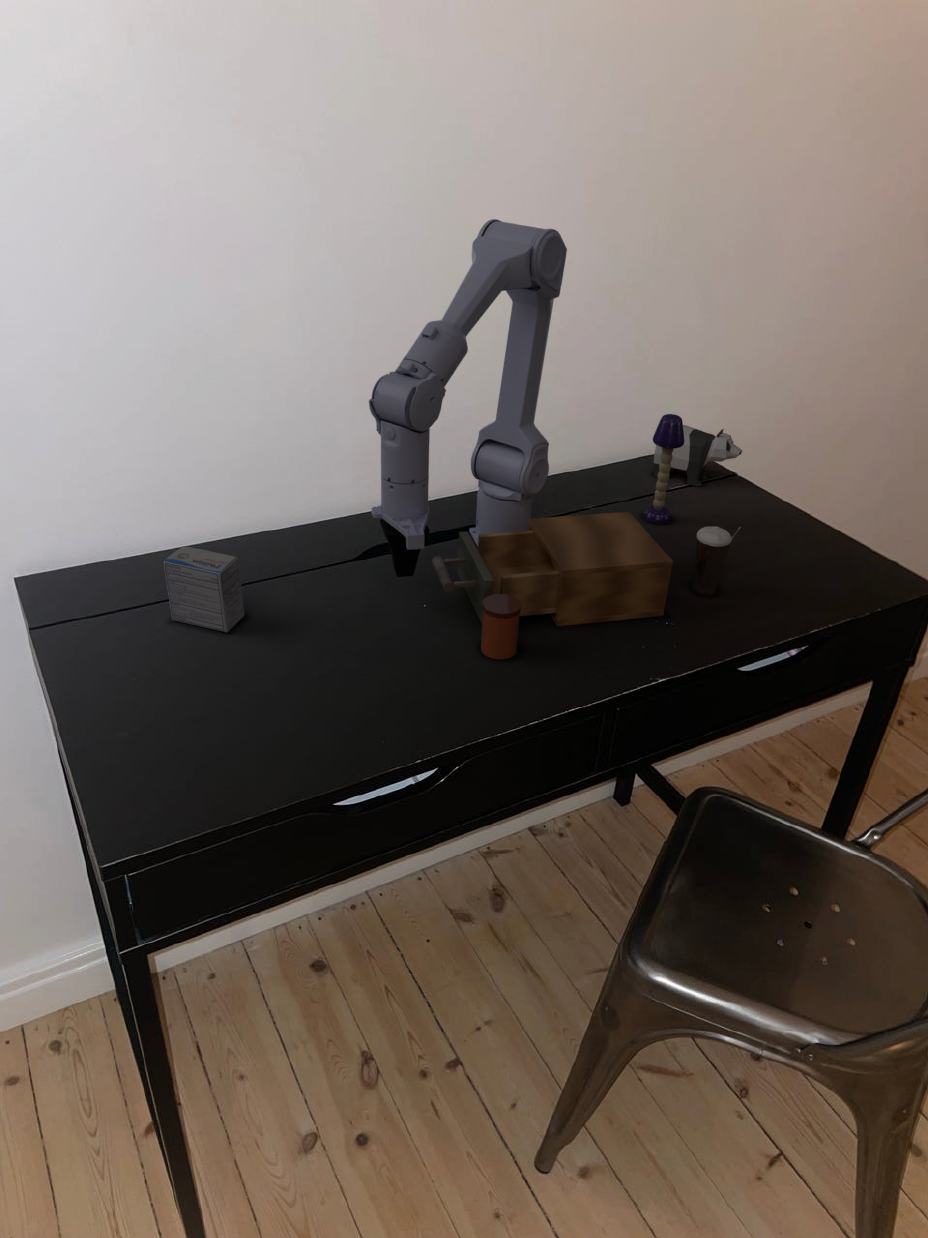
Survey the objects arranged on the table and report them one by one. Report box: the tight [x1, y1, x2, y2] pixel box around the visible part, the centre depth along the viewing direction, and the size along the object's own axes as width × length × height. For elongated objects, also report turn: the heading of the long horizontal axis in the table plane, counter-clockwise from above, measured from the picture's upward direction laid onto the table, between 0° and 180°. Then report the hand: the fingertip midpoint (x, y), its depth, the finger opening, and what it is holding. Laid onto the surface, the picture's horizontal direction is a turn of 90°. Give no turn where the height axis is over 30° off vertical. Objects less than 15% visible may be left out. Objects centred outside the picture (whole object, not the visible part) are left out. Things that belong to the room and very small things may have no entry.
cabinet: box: [527, 511, 674, 627], centre depth 127 cm, size 15×15×8 cm
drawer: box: [431, 530, 561, 625], centre depth 124 cm, size 18×13×6 cm
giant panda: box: [653, 424, 743, 488], centre depth 160 cm, size 15×6×10 cm, turn 61°
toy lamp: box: [643, 413, 684, 525], centre depth 145 cm, size 5×5×17 cm
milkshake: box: [691, 525, 742, 596], centre depth 128 cm, size 4×5×10 cm
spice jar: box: [480, 594, 521, 660], centre depth 114 cm, size 5×5×6 cm
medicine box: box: [162, 545, 245, 633], centre depth 117 cm, size 8×4×9 cm, turn 71°
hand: (404, 574), depth 121 cm, fingers closed
